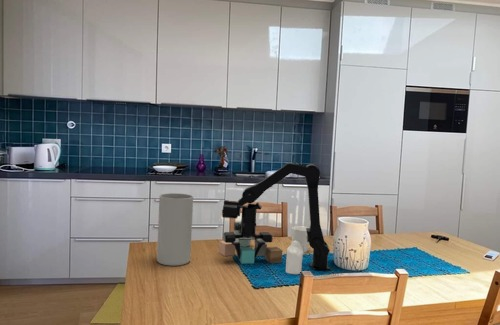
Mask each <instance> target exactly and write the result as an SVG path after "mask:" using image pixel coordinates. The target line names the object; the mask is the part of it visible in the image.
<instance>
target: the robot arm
mask: <svg viewBox="0 0 500 325" xmlns="http://www.w3.org/2000/svg"><path fill="white" fill-rule="evenodd" d="M291 174H292V175H297V176H300V177H304V178H305V182H306V186H307V194H308V195H307V196H308V208H309V209H308V210H309V211H308V212H309V227H308V228H306V231H307V237H306V238H307V242H309V244H308V245H309V246H310V248H312V249H313V251H312V261H311V262H310V263H308V266H310V267H311V268H312V269H313V270H315V271H325V270H327V271H331V267H329V266H328V259H329V254H330V252H331V250H330V247H329V244H328V243H327V242H326V241H325V239H324V238H325V237H324V235H323V230H322V227H321V221H320V205H319V184H320V175H321V171H320V169H319V167H318V166H317V165H315V164H313V163H310V164H309V163H308V164H306V165H304V164H299V163H293V162H286V163H285V164H284V165H283V166H282V167H281V168H279V169H278V170H276V171H274V172H273V173H271V174H270V175H268V176H267V177H266V178H264V179H263V180H262V181H259V182H257V183H254V184H252V185H250V186H248V187H246V188H245V189H244V190H243V192H242V193H241V198H238V200H237V201H235V200H233V201H232V200H228V199H227V200H223V207H222V209H221V213H222V214H221V216H222V219H224V218H226V219H235V220H236V219H238V217H241V220H240V221H236V222H234V223H233V231H234V232H233V231H225V232H223V234H222V241H225V242H226V243H232V245H234V246H235V249H236V250H235V253H236V256H237V258H238V260H239V259H240V243H239V240H250V239H251V240H254V248H253V249H254V251H255V256H254V260H256V258H257V257H258V256H257V254H258V252H259V250H260V248H261V247H262V245H263V244H265V242H267V243H273V235H272V234H271V233H270V232H269V231H259V232H258V233H259V234H256V230H257V229H256V228H257V210H261V209H262V205H261V204H260V203H259V202H256V201H257V200H258V199H259V198H260V197H261V196H262V195H263V194H264V193H265V192H266V191H267V190H268V189H270V188H271V187H273V186H274V185H276V184H277V183H278V182H280V181H282V180H284V178H286V177H287V176H289V175H291ZM255 202H256V203H255ZM246 204H247V205H246ZM239 222H241V224H239ZM235 231H238V233H240V234H241V235H235Z"/></svg>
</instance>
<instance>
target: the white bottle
mask: <svg viewBox="0 0 500 325" xmlns="http://www.w3.org/2000/svg"><path fill="white" fill-rule="evenodd" d="M303 257H304V253H303V249H302V247H301V245H300V243H299V242H297V241H293V242H292V241H291V244H290V245H289V246H288V247H287V249H286V261H285V273H286V274H289V275H299V274H301V273H302V268H303V266H302V265H303ZM300 272H301V273H300Z"/></svg>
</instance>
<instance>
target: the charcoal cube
mask: <svg viewBox="0 0 500 325" xmlns="http://www.w3.org/2000/svg"><path fill="white" fill-rule="evenodd" d="M266 247H268V242H265V244H263V245H262V247H261V248H260V250H259V252H258V254H257V256H256V257H258V256H259V257H265V249H266Z"/></svg>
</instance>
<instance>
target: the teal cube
mask: <svg viewBox="0 0 500 325" xmlns="http://www.w3.org/2000/svg"><path fill="white" fill-rule="evenodd" d="M254 256H255V251H254V248H253V247H252V246H247V247H240V259H238V261H239V262H240V264H241V265H243V264H255V259H254Z"/></svg>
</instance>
